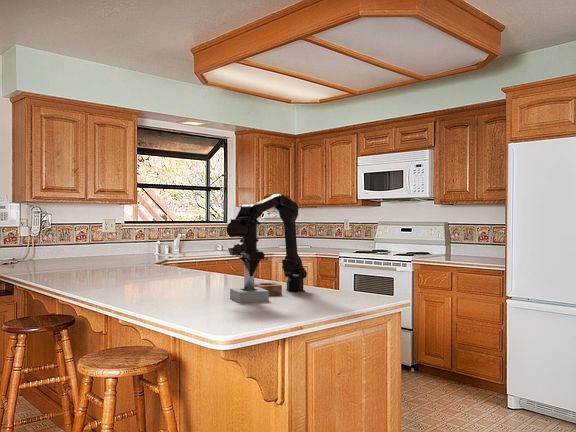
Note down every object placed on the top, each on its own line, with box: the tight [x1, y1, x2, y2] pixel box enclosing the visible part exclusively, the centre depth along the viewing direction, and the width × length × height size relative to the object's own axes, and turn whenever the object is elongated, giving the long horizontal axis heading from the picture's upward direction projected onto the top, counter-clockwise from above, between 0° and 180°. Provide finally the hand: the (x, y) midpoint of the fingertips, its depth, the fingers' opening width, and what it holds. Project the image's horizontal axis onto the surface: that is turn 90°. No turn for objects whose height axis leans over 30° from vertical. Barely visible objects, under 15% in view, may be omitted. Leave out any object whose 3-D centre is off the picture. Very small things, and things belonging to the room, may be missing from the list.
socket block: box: [229, 287, 270, 304], centre depth 206 cm, size 12×12×4 cm
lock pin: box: [242, 261, 255, 290], centre depth 206 cm, size 5×5×11 cm
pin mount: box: [254, 281, 283, 296], centre depth 222 cm, size 10×10×4 cm
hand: (249, 275), depth 206 cm, fingers closed on lock pin, 4 cm apart
